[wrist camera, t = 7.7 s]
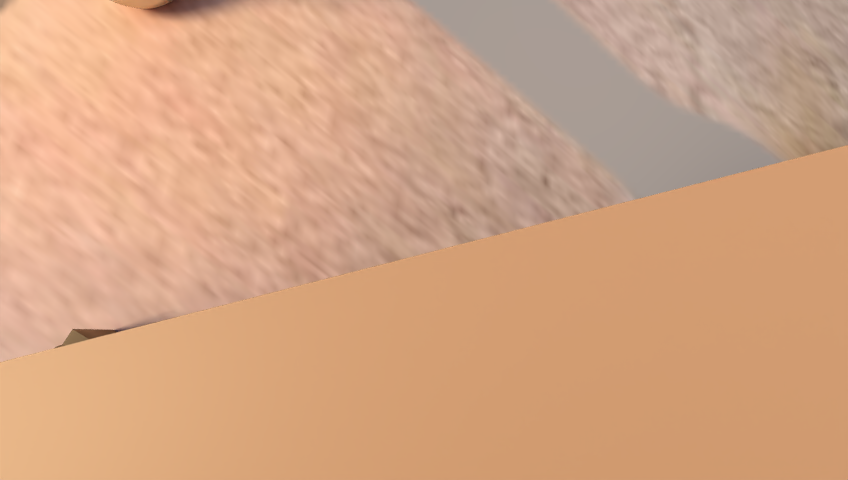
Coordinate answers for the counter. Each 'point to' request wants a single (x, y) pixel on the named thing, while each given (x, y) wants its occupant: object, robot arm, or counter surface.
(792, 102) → the counter surface
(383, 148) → the counter surface
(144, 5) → the plastic bottle
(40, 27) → the counter surface
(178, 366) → the top brick
